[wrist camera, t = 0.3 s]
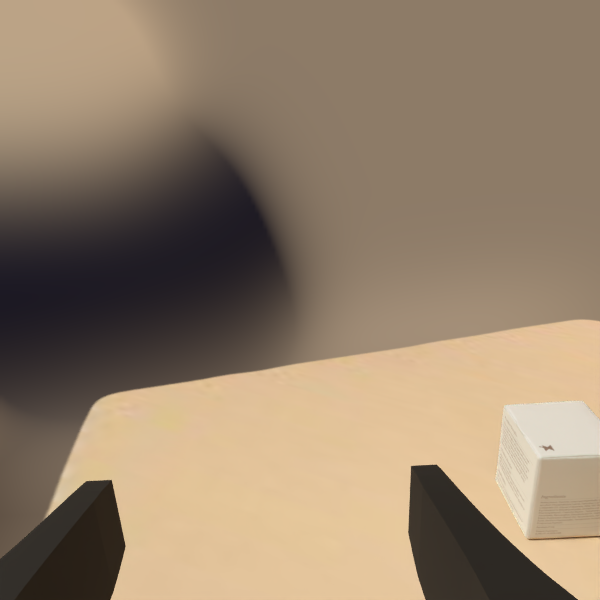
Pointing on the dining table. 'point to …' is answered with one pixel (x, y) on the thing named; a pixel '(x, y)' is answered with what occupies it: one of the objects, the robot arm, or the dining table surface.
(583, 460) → the product box
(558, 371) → the dining table surface
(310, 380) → the dining table surface
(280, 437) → the dining table surface
